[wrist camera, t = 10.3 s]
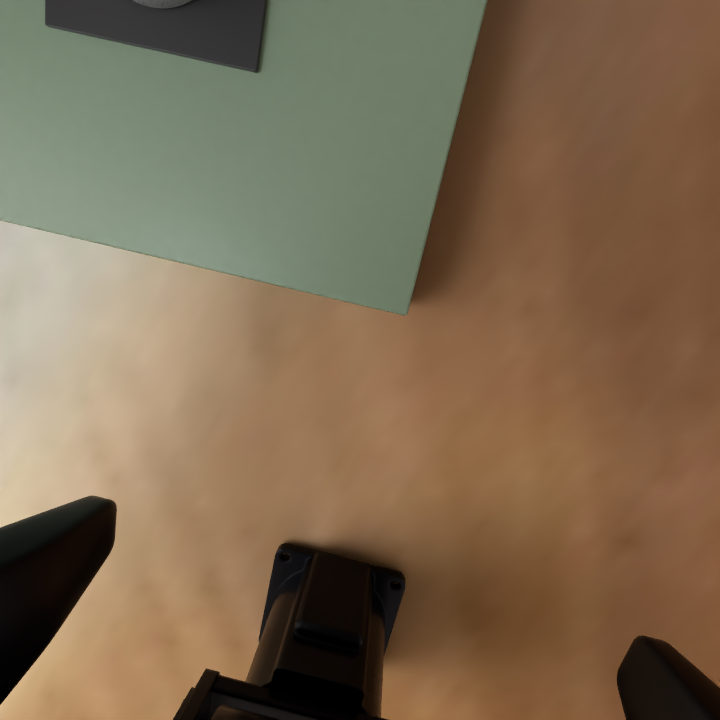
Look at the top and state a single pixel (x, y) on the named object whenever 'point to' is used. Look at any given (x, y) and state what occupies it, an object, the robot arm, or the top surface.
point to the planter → (162, 3)
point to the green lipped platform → (238, 132)
